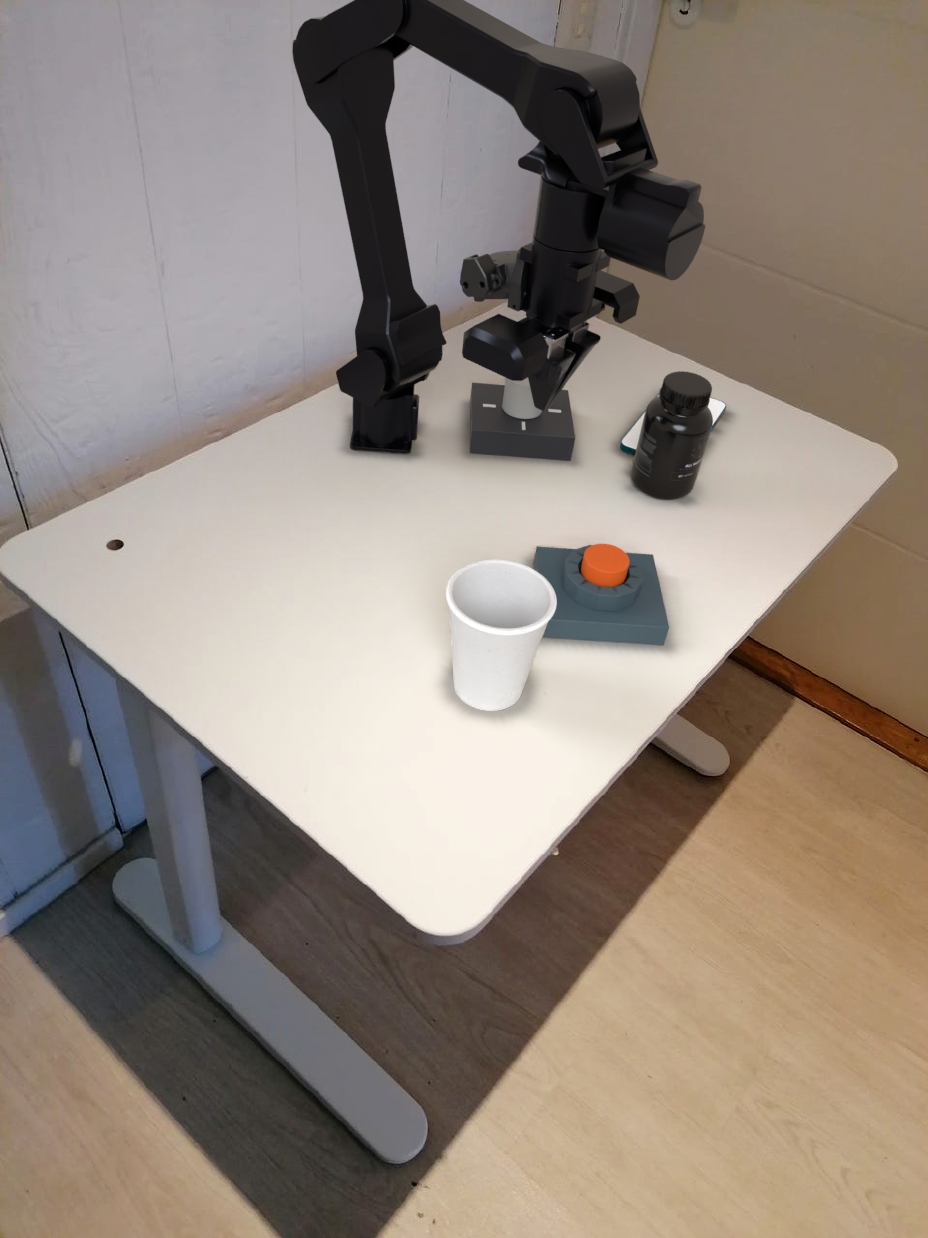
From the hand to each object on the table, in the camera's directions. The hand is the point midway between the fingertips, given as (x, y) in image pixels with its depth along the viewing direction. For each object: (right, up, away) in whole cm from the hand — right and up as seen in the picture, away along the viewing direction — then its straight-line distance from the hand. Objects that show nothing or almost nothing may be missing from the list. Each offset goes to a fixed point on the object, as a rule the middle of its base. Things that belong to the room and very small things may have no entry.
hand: (541, 407), depth 89 cm
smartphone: (+17, +2, +22) cm, 28 cm away
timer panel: (-1, +1, +19) cm, 19 cm away
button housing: (+5, -18, -1) cm, 19 cm away
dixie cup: (-5, -25, -10) cm, 27 cm away
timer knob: (-1, +4, +17) cm, 17 cm away
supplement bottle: (+14, -5, +14) cm, 20 cm away
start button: (+5, -15, -4) cm, 17 cm away
